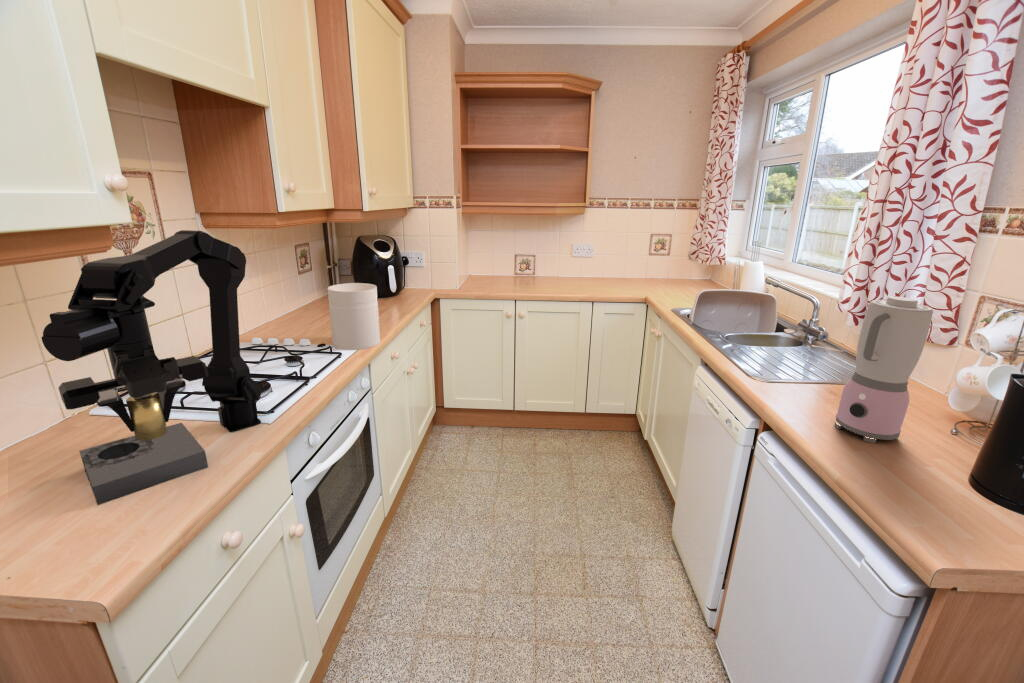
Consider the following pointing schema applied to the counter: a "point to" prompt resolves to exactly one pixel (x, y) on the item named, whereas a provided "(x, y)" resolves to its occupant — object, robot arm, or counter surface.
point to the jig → (141, 463)
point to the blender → (884, 368)
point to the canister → (354, 315)
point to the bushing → (147, 416)
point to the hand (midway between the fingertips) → (149, 426)
